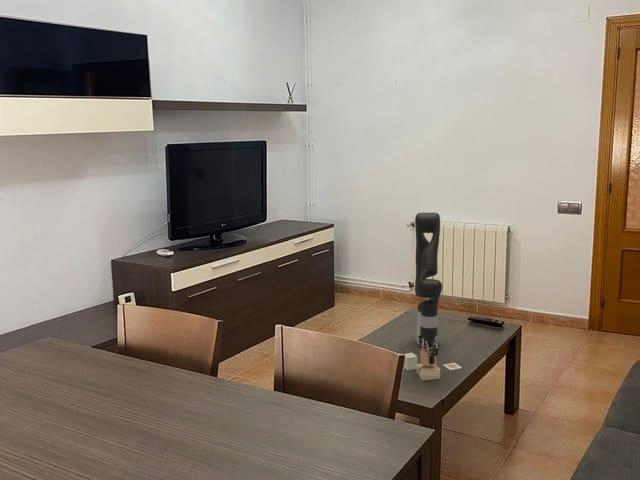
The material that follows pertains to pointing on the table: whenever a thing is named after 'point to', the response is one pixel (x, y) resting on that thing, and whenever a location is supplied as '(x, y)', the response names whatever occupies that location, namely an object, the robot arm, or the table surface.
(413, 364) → the grey block
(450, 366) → the card
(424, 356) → the terracotta block
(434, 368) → the birch base block
